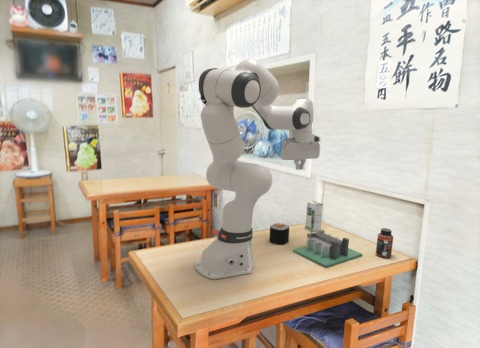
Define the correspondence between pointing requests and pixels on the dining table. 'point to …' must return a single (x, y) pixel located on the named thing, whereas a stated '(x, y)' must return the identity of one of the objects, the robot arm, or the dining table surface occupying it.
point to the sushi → (279, 233)
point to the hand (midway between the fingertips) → (299, 169)
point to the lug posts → (335, 248)
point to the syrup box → (314, 215)
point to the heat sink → (321, 245)
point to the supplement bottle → (384, 243)
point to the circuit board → (326, 261)
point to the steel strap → (327, 238)
